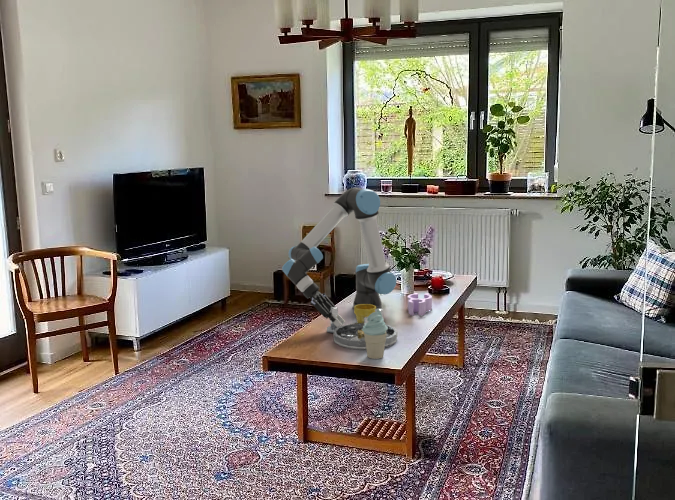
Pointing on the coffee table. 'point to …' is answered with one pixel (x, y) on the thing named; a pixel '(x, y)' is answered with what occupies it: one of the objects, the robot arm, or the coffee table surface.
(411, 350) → the coffee table surface
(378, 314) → the ice cream cone
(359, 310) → the plant pot
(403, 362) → the coffee table surface
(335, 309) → the grey round-based stand
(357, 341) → the grey round tray
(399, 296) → the coffee table surface
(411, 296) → the clip
